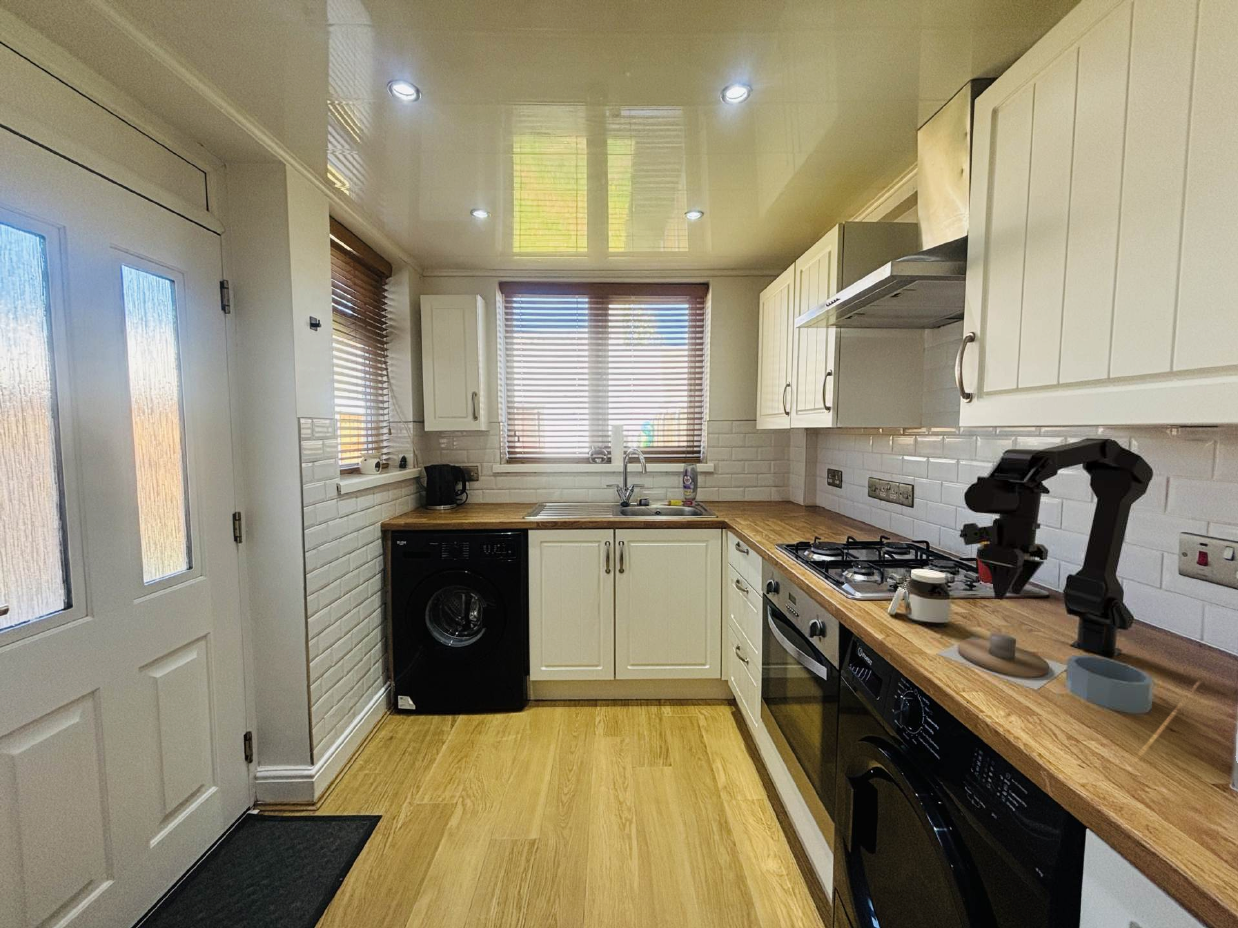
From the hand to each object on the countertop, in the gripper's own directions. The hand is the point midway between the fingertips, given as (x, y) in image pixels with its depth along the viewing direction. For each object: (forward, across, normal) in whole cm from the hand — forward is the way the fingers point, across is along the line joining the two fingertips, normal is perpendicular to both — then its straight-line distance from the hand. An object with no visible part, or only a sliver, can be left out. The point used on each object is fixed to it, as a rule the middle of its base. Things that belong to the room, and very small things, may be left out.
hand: (1007, 596), depth 95 cm
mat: (+13, -1, 0) cm, 13 cm away
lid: (+13, -1, 0) cm, 13 cm away
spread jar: (+13, -10, -19) cm, 26 cm away
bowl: (+13, 0, +15) cm, 20 cm away
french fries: (+9, -56, -17) cm, 60 cm away
